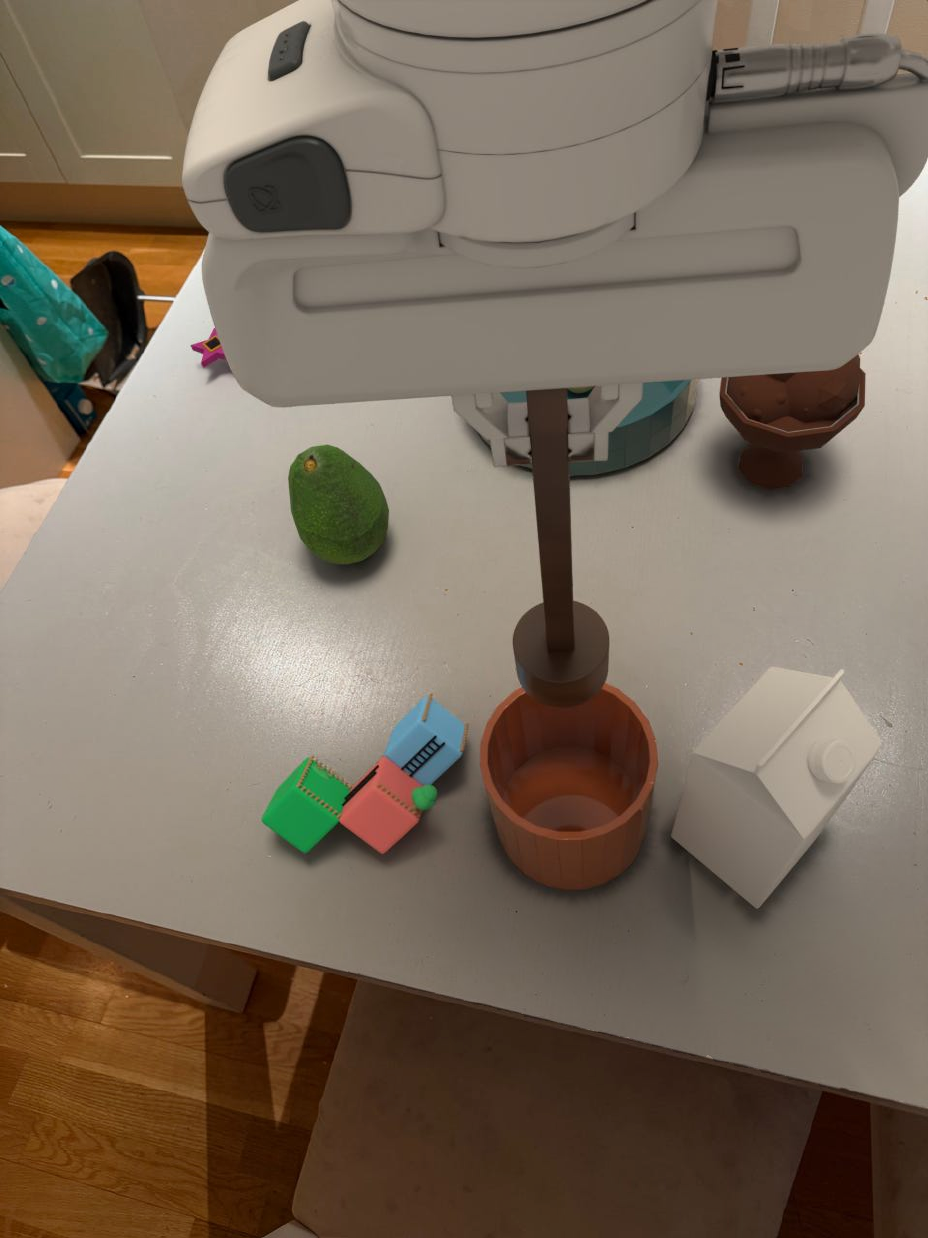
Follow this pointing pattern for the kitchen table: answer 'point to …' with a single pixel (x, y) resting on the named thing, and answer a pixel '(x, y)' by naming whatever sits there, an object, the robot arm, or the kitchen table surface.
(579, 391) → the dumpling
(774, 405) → the ice cream bowl
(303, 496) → the avocado
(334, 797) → the building blocks
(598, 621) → the ladle
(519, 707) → the crock
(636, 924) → the kitchen table surface
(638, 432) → the bowl
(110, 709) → the kitchen table surface
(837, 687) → the milk carton
